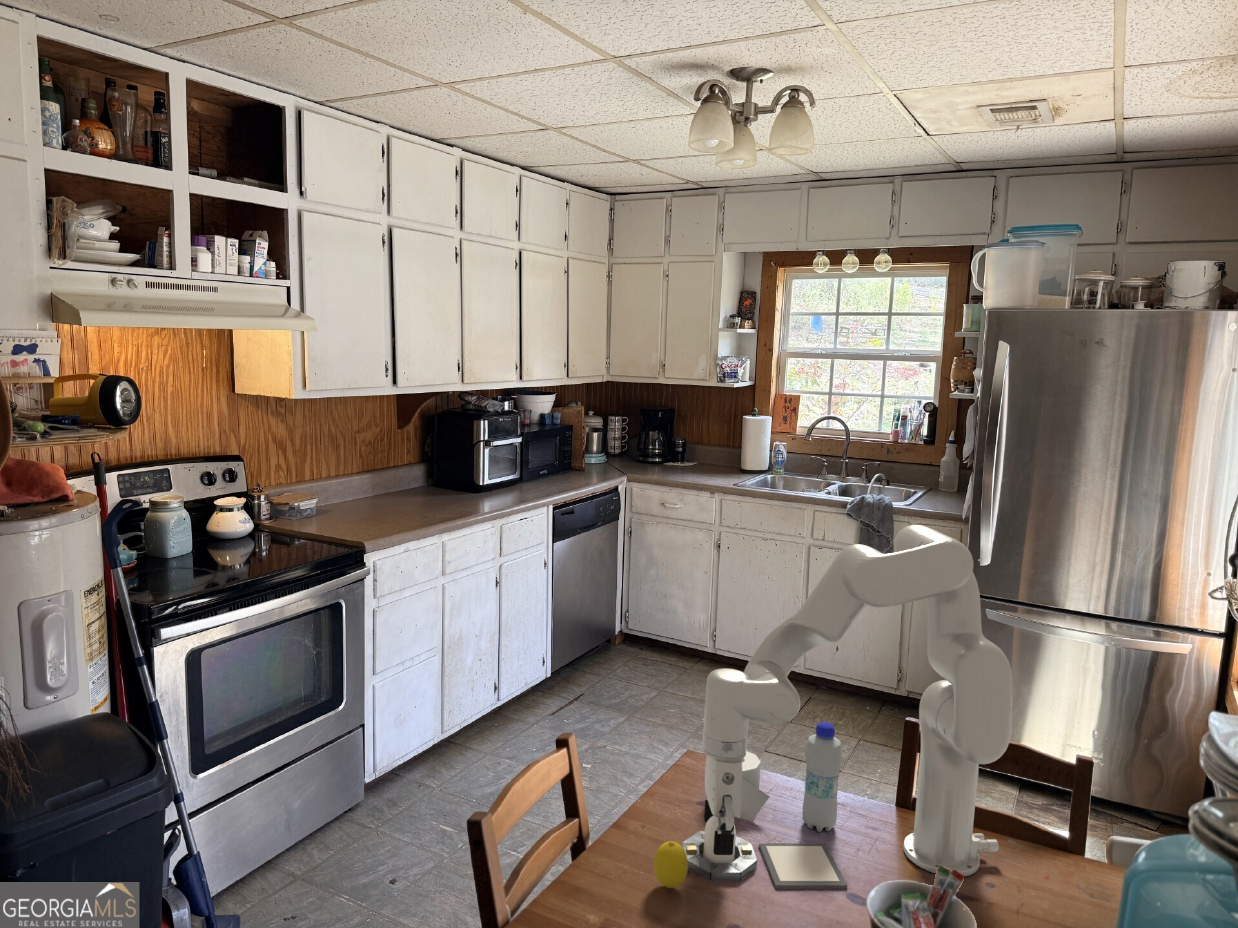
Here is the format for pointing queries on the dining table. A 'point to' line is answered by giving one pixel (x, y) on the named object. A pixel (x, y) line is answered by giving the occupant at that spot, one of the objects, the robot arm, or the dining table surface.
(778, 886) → the mat
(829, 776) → the bottle
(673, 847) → the lemon
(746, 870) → the socket ring
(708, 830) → the capsule
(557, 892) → the dining table surface
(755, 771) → the toilet tissue
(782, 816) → the dining table surface
